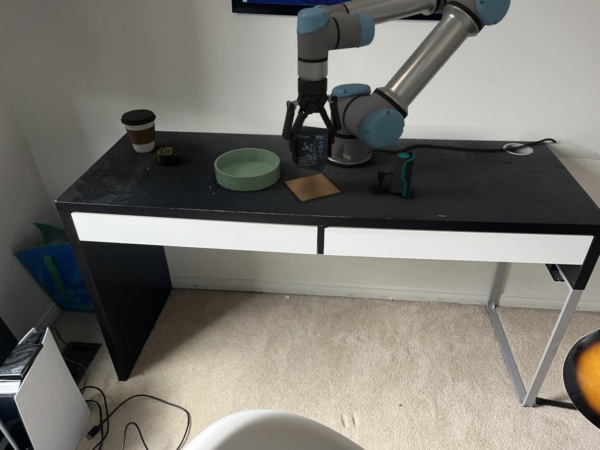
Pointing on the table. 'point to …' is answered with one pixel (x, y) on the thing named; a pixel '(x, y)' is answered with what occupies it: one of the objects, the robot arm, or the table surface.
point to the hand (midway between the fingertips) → (311, 158)
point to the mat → (312, 187)
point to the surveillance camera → (398, 175)
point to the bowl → (247, 169)
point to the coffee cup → (140, 129)
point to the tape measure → (168, 155)
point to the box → (313, 148)
